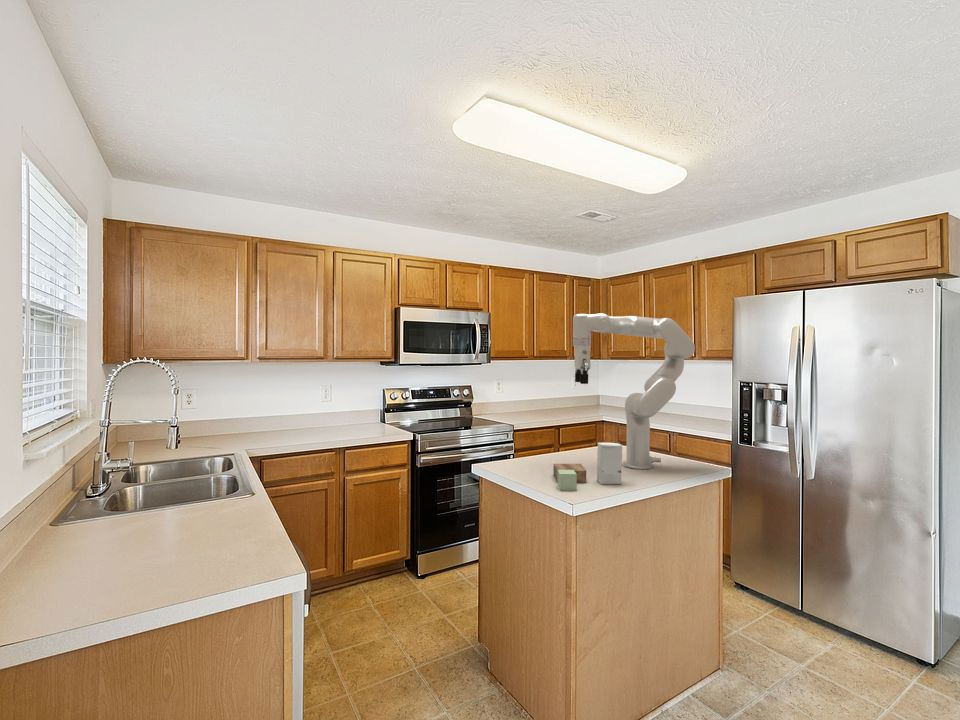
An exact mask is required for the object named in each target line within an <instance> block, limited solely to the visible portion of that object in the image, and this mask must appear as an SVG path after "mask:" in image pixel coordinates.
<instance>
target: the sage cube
mask: <svg viewBox="0 0 960 720" xmlns="http://www.w3.org/2000/svg"><path fill="white" fill-rule="evenodd" d="M556 484H557V485H558V486H557V487H559V488H558V490H559V489H560V490H559V491H578V486H577V484H578V483H577V474H576V473H575V471H574V470H557V481H556Z"/></svg>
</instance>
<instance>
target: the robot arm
mask: <svg viewBox="0 0 960 720" xmlns="http://www.w3.org/2000/svg"><path fill="white" fill-rule="evenodd" d="M592 332H594V333H595V332H596V333H601V334H602V333H604V334H613V335H614V334H615V335H621V336H629V337H641V338H650V339H663V340H664V341H665V342H666V343H665V344H664V349H663V352H664V362H662V364H661V366H660V367H659V368H658V369H657V370H656V371H655V372H654V373H653V374H652V375H651V376H650V377H648V378H647V380H646V381H645V383H644V386H643V389H644V391H645V392H644V393H643V392H642V393H641V392H634V393H630V395H629V394H628V396H627V397H626V399H625V402H624V410H625V417H626V419H625V420H626V449H625V451H626V456H625V457H626V460H624V461H622V466H623V467H625V468H628V469H633V470H651V469H653V468H654V463H661V462H662V458H661V457H656V456H655V457H654V456H651V454H650V449H651V448H650V445H651V444H650V440H651V437H650V435H651V433H650V432H651V424H650V418H652V417H654V416H655V415H656V414H658V413H659V412H660V411H661V409H663V408H664V407H665V406H666V404H668V403H669V402H670V400H671V399H672V398H673V397H674V395H675V394H676V391H677V384H676V383H675V382H676V381H677V379H679V377H680V376H681V375H682V374H683V371H684V368H685V359H689V358H691V357H692V356H693V355H694V353H695V351H696V346H695V343H694V341H693V340H692V339H691V338H690V336H688V334H687V333H686V332H685V331H684V329H683V328H682V327H681V326H680V325H679V324H678V323H677V322H676V321H675V320H673V319H672V318H669V317H662V318H654V317H646V316H639V315H638V316H637V315H624V316H611V315H610V316H609V315H608V314H606V313H603V312H602V313H591V314H590V313H589V314H588V313H576V314H574V315H573V317H572V347H574V360H573V361H574V368H575V371H574V382H575V383H580V384H581V385H588V384H589V370H591V349H590V347H592Z"/></svg>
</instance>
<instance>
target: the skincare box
mask: <svg viewBox="0 0 960 720" xmlns="http://www.w3.org/2000/svg"><path fill="white" fill-rule="evenodd" d="M596 461H597V466H596V469H597V470H596V481H598V483H599V484H601V485H621V484H622V472H623V471H622V466H623V445H622V444H620V443H618V442H597V460H596Z"/></svg>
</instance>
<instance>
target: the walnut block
mask: <svg viewBox="0 0 960 720" xmlns="http://www.w3.org/2000/svg"><path fill="white" fill-rule="evenodd" d="M552 469H553V477H554V479H555V481H556V482H557V470H574V471H575V473H576V474H577V484H587V470H586V468H585V467H584V466H583V464H582V463H553V467H552Z"/></svg>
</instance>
